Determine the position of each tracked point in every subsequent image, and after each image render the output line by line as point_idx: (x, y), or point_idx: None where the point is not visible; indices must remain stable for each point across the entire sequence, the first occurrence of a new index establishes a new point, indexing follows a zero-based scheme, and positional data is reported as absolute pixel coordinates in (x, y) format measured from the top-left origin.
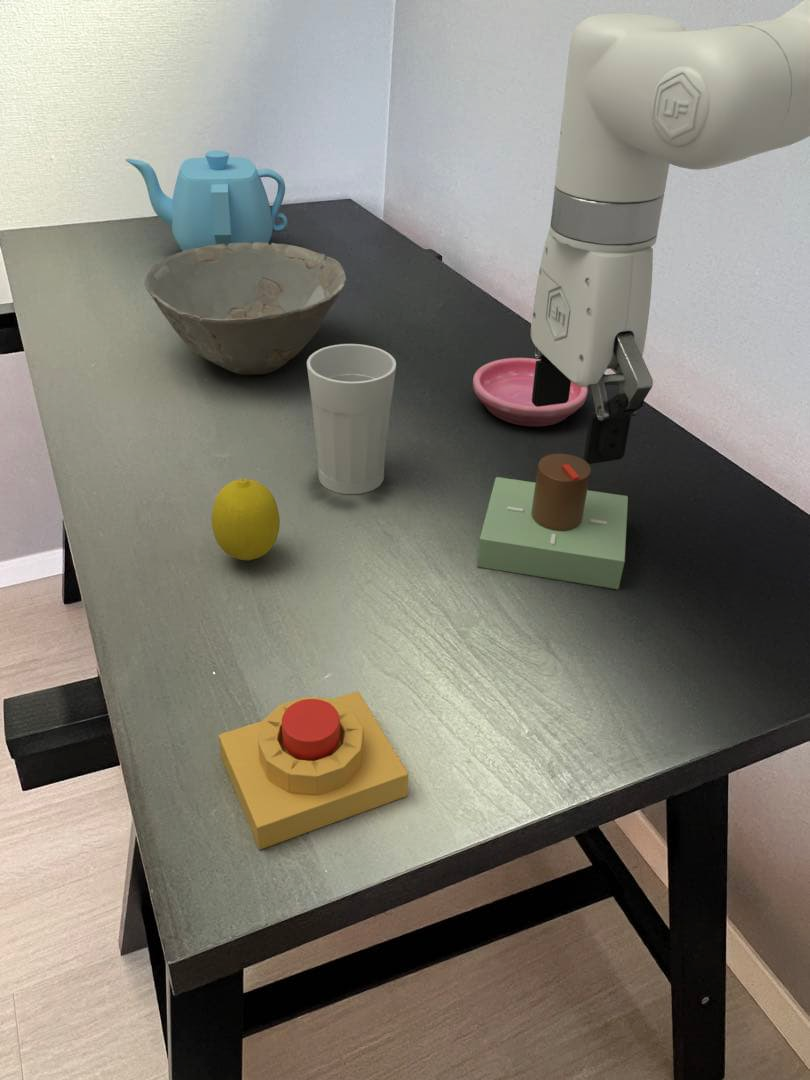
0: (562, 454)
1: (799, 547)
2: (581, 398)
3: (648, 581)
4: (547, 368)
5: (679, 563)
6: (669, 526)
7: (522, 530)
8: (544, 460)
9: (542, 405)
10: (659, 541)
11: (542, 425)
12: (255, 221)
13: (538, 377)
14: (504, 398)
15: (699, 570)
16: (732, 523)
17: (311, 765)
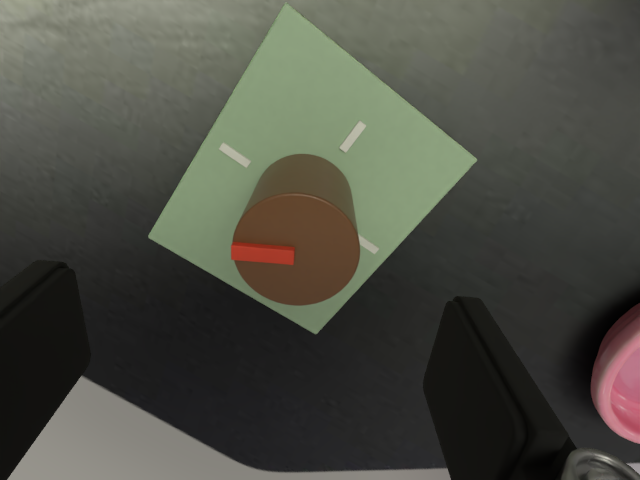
0: (347, 276)
1: (201, 441)
2: (605, 417)
3: (179, 261)
4: (498, 439)
5: (207, 317)
6: (287, 350)
7: (282, 113)
8: (339, 225)
9: (443, 316)
10: (261, 322)
11: (606, 334)
12: None
13: (499, 377)
14: None
15: (187, 330)
16: (267, 412)
17: None
